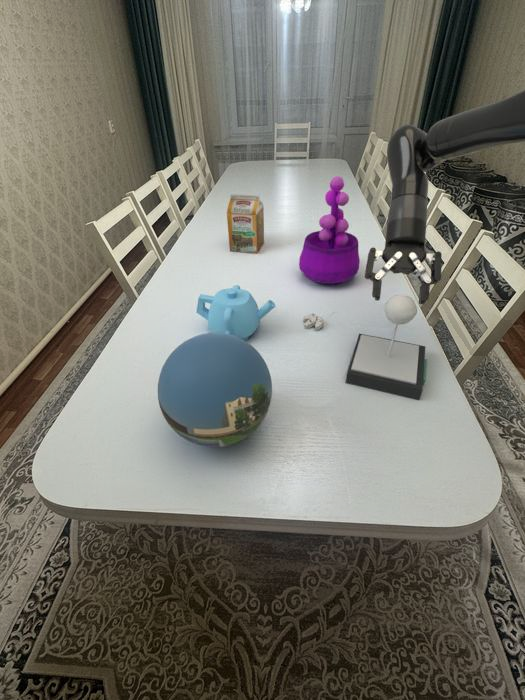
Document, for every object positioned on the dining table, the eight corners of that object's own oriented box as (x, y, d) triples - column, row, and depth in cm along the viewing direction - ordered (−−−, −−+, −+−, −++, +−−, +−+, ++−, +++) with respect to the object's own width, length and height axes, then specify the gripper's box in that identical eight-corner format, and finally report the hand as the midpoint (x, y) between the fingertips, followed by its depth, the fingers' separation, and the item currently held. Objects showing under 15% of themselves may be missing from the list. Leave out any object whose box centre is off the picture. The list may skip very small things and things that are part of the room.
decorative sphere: (176, 393, 76) (156, 313, 64) (268, 387, 77) (266, 307, 64) (162, 475, 61) (133, 392, 48) (277, 466, 61) (277, 382, 49)
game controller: (298, 326, 94) (298, 318, 93) (319, 307, 102) (319, 299, 100) (317, 333, 92) (317, 324, 90) (337, 313, 99) (338, 305, 97)
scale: (424, 356, 84) (428, 344, 81) (422, 401, 73) (426, 388, 70) (357, 343, 88) (359, 331, 86) (345, 382, 77) (347, 370, 75)
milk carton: (264, 242, 139) (263, 191, 128) (257, 253, 131) (255, 199, 120) (238, 240, 142) (234, 190, 130) (229, 251, 134) (225, 198, 122)
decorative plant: (290, 269, 121) (293, 172, 102) (339, 260, 125) (350, 166, 106) (313, 295, 107) (321, 188, 88) (368, 285, 111) (387, 181, 92)
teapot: (191, 348, 88) (184, 307, 81) (206, 311, 101) (201, 273, 94) (272, 352, 86) (272, 310, 79) (277, 314, 99) (277, 275, 92)
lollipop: (368, 355, 79) (381, 295, 70) (384, 344, 82) (398, 286, 72) (392, 369, 75) (409, 308, 66) (408, 357, 78) (426, 297, 69)
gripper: (373, 213, 71) (365, 293, 69) (450, 217, 68) (443, 300, 67) (368, 230, 78) (360, 303, 76) (437, 234, 76) (431, 309, 74)
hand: (399, 301), depth 72 cm, fingers open, 8 cm apart
